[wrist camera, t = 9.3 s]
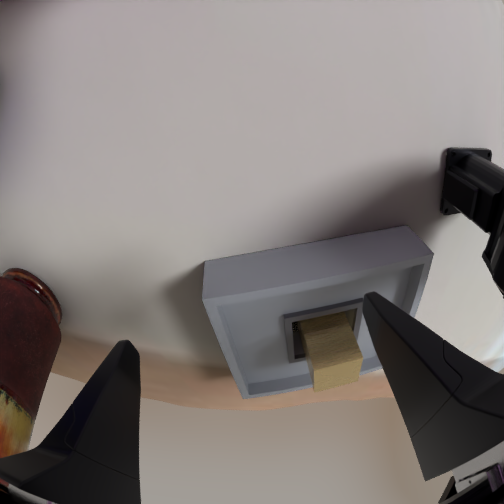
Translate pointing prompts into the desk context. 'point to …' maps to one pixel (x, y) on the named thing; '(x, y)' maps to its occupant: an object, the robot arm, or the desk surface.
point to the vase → (24, 354)
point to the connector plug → (330, 350)
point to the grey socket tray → (306, 300)
